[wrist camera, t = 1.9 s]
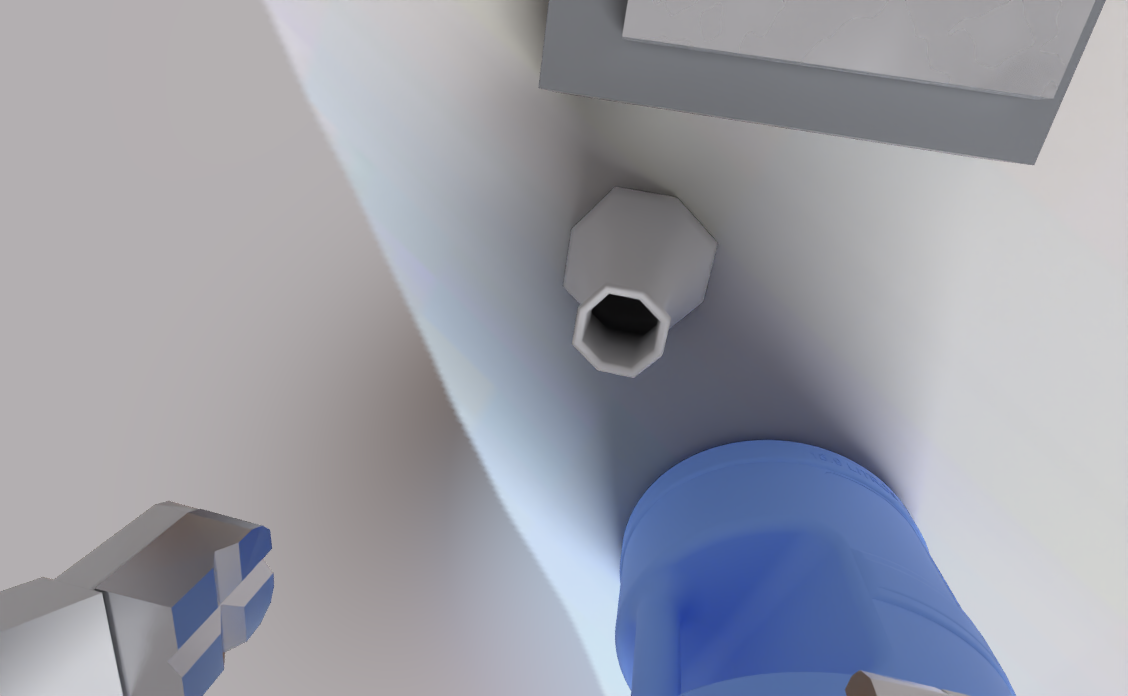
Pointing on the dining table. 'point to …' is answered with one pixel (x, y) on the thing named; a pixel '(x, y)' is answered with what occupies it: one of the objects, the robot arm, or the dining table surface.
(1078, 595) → the dining table surface
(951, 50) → the pan
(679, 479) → the water jug
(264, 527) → the robot arm
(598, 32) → the base
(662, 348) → the flask
